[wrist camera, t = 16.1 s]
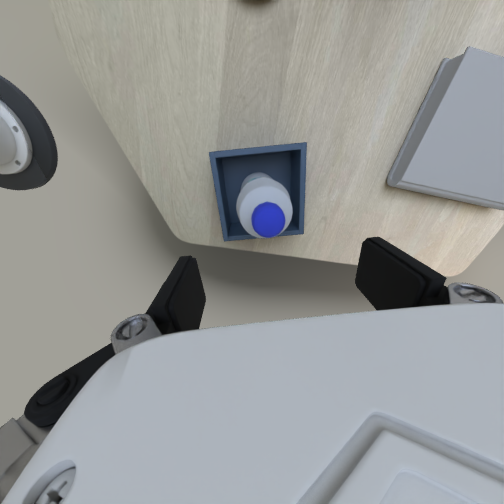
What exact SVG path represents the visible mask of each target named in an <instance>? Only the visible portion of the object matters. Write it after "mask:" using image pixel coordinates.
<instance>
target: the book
mask: <svg viewBox="0 0 504 504" xmlns="http://www.w3.org/2000/svg"><path fill="white" fill-rule="evenodd" d="M387 179H388V180H387V183H388V185H389V186H392V187H397V188H401V189H406V190H410V191H415V192H420V193H424V194H429V195H434V196H438V197H443V198H447V199H452V200H457V201H461V202H466V203H470V204H475V205H480V206H484V207H489V208H494V209H498V210H504V57H501V56H498V55H495V54H492V53H489V52H486V51H483V50H480V49H476V48H473V47H470V46H469V47H467V48H466V50H465V52H464V54H462V55H460V56H458V57H455V58H453V59H449V58H444V59H443V61H442V63H441V65H440V67H439V69H438V72H437V74H436V76H435V78H434V80H433V82H432V84H431V86H430V88H429V90H428V93H427V95H426V97H425V99H424V101H423V103H422V105H421V107H420V109H419V111H418V114H417V116H416V118H415V120H414V122H413V124H412V126H411V128H410V130H409V132H408V135H407V137H406V139H405V141H404V143H403V145H402V147H401V149H400V151H399V153H398V156H397V158H396V160H395V162H394V164H393V166H392V168H391V170H390V172H389V174H388V177H387Z"/></svg>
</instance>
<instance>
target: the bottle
mask: <svg viewBox="0 0 504 504" xmlns="http://www.w3.org/2000/svg"><path fill="white" fill-rule="evenodd" d="M236 210H237V214H238V217H239V219H240V222H241V224H242V226H243V228H244V229H245V230H246V231H247V232H248V233H249V234H251V235H252V236H255V237H257V238H263V239H267V238H272V237H275V236H277V235H279V234H281V233H282V232H283V231H284V230H285V229H286V228H287V227H288V225H289V223H290V221H291V218H292V213H293V211H292V204H291V200H290V196H289V194H288V192H287V190H286V189H285V187H284V186H283V185H281V184H280V183H279V182H277V181H275V180H273V179H272V178H271V177H270V176H269V175H267V174H265V173H262V172H256V173H252V174H250V175H248V176H247V177H246V178H245V179H244V181H243V183H242V185H241V190H240V194H239V196H238V199H237V204H236Z"/></svg>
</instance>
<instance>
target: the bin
mask: <svg viewBox="0 0 504 504" xmlns="http://www.w3.org/2000/svg"><path fill="white" fill-rule="evenodd" d="M306 150H307V142H304V143H294V144H284V145H274V146H264V147H254V148H244V149H235V150H225V151H215V152H209V156H210V162H211V168H212V174H213V180H214V186H215V192H216V197H217V203H218V209H219V215H220V221H221V227H222V233H223V239H224V241H234V240H244V239H255V238H257V237H255V236H252V235H251V234H249V233H248V232H247V231H246V230H245V229H244V228H243V226H242V224H241V222H240V219H239V217H238V214H237V210H236V204H237V199H238V196H239V194H240V190H241V185H242V183H243V181H244V179H245V178H246V177H247V176H248V175H250V174H252V173H256V172H262V173H265V174H267V175H269V176H270V177H271V178H272V179H273V180H275V181H277V182H279V183H280V184H281V185H283V186H284V187H285V189H286V190H287V192H288V194H289V196H290V200H291V204H292V211H293V213H292V218H291V221H290V223H289V225H288V227H287V228H286V229H285V230H284V231H283V232H282V233H281V234H279V235H277V236H287V235H298V234H304V208H305V179H306ZM275 237H276V236H275Z"/></svg>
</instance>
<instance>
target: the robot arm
mask: <svg viewBox="0 0 504 504" xmlns="http://www.w3.org/2000/svg"><path fill="white" fill-rule="evenodd" d="M31 159H32V144H31V141H30V137H29V135H28V133H27V131H26V129H25V127H24V125H23V124H22V122H21V121H20V119H19V118H18V117H17V115H16V114H15V113H14V112H13V111H12V110H11V109H10V108H9V107H8V106H7V105H6V104H5V103H4V102H2V101H1V100H0V174H15V173H19V172H22V171H23V170H25V169H26V168H27V167H28V166H29V164H30V162H31ZM445 280H446V277H444V276H443V275H441V274H439V273H438V272H436V271H434V270H433V269H431V268H430V267H428V266H426V265H425V264H423V263H421V262H420V261H418V260H416V259H415V258H413V257H412V256H410V255H408V254H407V253H405V252H403V251H402V250H400V249H398V248H397V247H395V246H394V245H392V244H390V243H389V242H387V241H385V240H384V239H382V238H380V237H371V238H367V239H366V240H365V241H363V243H362V247H361V253H360V258H359V263H358V268H357V274H356V279H355V284H356V286H357V288H358V289H359V290H360V291H361V292H362V293H363V294H364V296H365V297H366V298H367V299H368V300H369V302H370V303H371V304H372V305H373V306H374V307H375V309H376V310H377V311H368V312H358V313H347V314H337V315H327V316H317V317H307V318H298V319H288V320H279V321H269V322H259V323H250V324H240V325H231V326H223V327H212V328H204V329H199V326H200V322H201V318H202V314H203V309H204V306H205V302H206V296H205V293H204V289H203V284H202V280H201V277H200V273H199V269H198V265H197V261H196V258H192V256H182V257H180V258H179V260H178V261H177V263H176V265H175V266H174V268H173V270H172V271H171V273H170V275H169V276H168V278H167V280H166V281H165V282H164V284H163V285H162V287H161V289H160V290H159V292H158V294H157V296H156V297H155V299H154V300H153V302H152V304H151V305H150V307H149V309H148V310H147V312H146V313H145V314H138V315H135V316H132V317H129V318H127V319H125V320H124V321H122V322H121V323H120V324H119V325H117V327H116V328H115V329H114V330H113V332H112V334H111V342H112V343H110V344H109V345H107V346H105V347H104V348H102V349H100V350H99V351H97V352H96V353H94V354H92V355H91V356H89V357H87V358H86V359H84V360H82V361H81V362H79V363H77V364H76V365H74V366H72V367H71V368H69V369H68V370H66V371H64V372H63V373H61V374H59V375H58V376H56V377H54V378H53V379H52V380H50V381H49V382H47V383H46V384H44V386H42V387H41V388H40V389H39V390H38V391H37V392H36V393H35V394H34V395H33V396H32V397H31V399H30V400H29V402H28V404H27V405H26V408H25V411H24V415H22V416H21V417H20V418H19V419H18V420H15V419H14V418H12V419H11V420H9V421H8V422H7V423H6V424H4V425H3V426H2V427H1V428H0V504H504V304H503V301H502V300H501V299H500V297H499V296H497V295H496V294H494V293H493V292H491V291H489V290H487V289H485V288H482V287H479V286H476V285H473V284H468V283H452V284H450V285H449V286H448V287H446V286H444V282H445Z"/></svg>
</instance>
